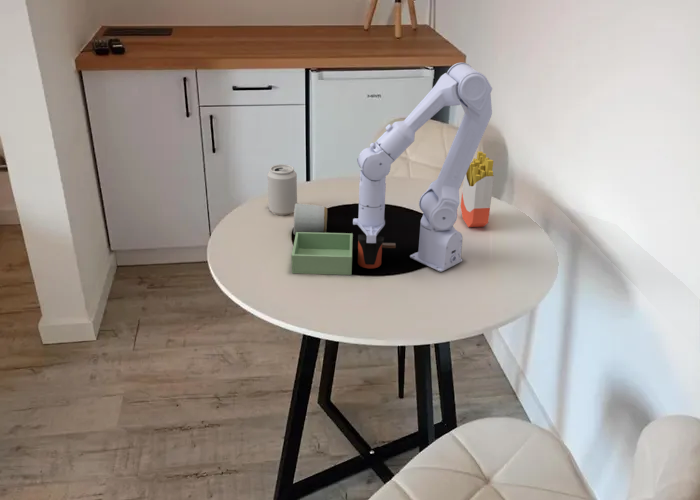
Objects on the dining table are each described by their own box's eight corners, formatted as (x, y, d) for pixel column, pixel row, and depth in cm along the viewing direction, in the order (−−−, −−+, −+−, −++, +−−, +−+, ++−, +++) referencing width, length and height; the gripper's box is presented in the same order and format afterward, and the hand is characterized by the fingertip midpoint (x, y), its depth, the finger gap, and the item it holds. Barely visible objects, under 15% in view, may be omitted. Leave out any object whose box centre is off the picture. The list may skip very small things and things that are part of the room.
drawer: (352, 250, 160) (352, 233, 158) (351, 275, 150) (352, 257, 148) (296, 248, 160) (296, 231, 158) (291, 273, 150) (291, 255, 148)
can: (281, 202, 184) (280, 160, 179) (302, 209, 180) (302, 167, 175) (262, 211, 179) (261, 168, 173) (284, 218, 175) (283, 175, 169)
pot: (357, 268, 153) (358, 245, 150) (357, 257, 158) (358, 235, 155) (394, 269, 153) (396, 247, 150) (393, 257, 157) (395, 236, 155)
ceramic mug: (327, 240, 165) (327, 211, 161) (293, 240, 164) (292, 210, 161) (326, 222, 174) (326, 194, 171) (294, 222, 174) (294, 194, 170)
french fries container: (469, 231, 171) (477, 164, 162) (458, 213, 180) (465, 149, 172) (487, 231, 171) (496, 163, 163) (475, 213, 181) (482, 148, 172)
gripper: (353, 189, 155) (352, 242, 161) (353, 215, 142) (351, 272, 148) (384, 190, 155) (382, 243, 161) (386, 216, 142) (384, 273, 148)
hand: (369, 257), depth 154 cm, fingers closed on pot, 5 cm apart
